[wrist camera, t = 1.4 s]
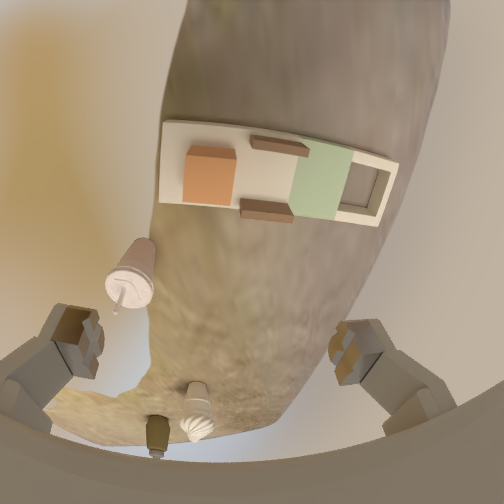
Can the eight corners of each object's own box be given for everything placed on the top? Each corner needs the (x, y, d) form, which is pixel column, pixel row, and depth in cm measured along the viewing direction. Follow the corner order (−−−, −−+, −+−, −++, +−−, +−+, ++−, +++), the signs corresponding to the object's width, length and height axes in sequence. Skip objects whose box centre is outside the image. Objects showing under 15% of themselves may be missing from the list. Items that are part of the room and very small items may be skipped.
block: (191, 145, 29) (185, 155, 25) (234, 149, 30) (236, 159, 26) (187, 185, 32) (182, 201, 27) (229, 189, 32) (230, 206, 28)
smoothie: (144, 221, 37) (114, 286, 25) (173, 251, 40) (157, 322, 28) (116, 244, 38) (84, 310, 27) (144, 271, 42) (124, 340, 30)
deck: (168, 119, 29) (155, 126, 24) (388, 157, 35) (413, 172, 29) (163, 193, 35) (152, 214, 29) (368, 217, 40) (388, 239, 35)
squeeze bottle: (161, 412, 72) (158, 463, 57) (175, 421, 76) (174, 468, 61) (142, 414, 73) (137, 462, 58) (156, 422, 77) (153, 468, 62)
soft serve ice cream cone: (206, 375, 60) (207, 436, 46) (218, 390, 64) (221, 445, 51) (175, 379, 60) (172, 438, 47) (189, 394, 65) (188, 447, 51)
